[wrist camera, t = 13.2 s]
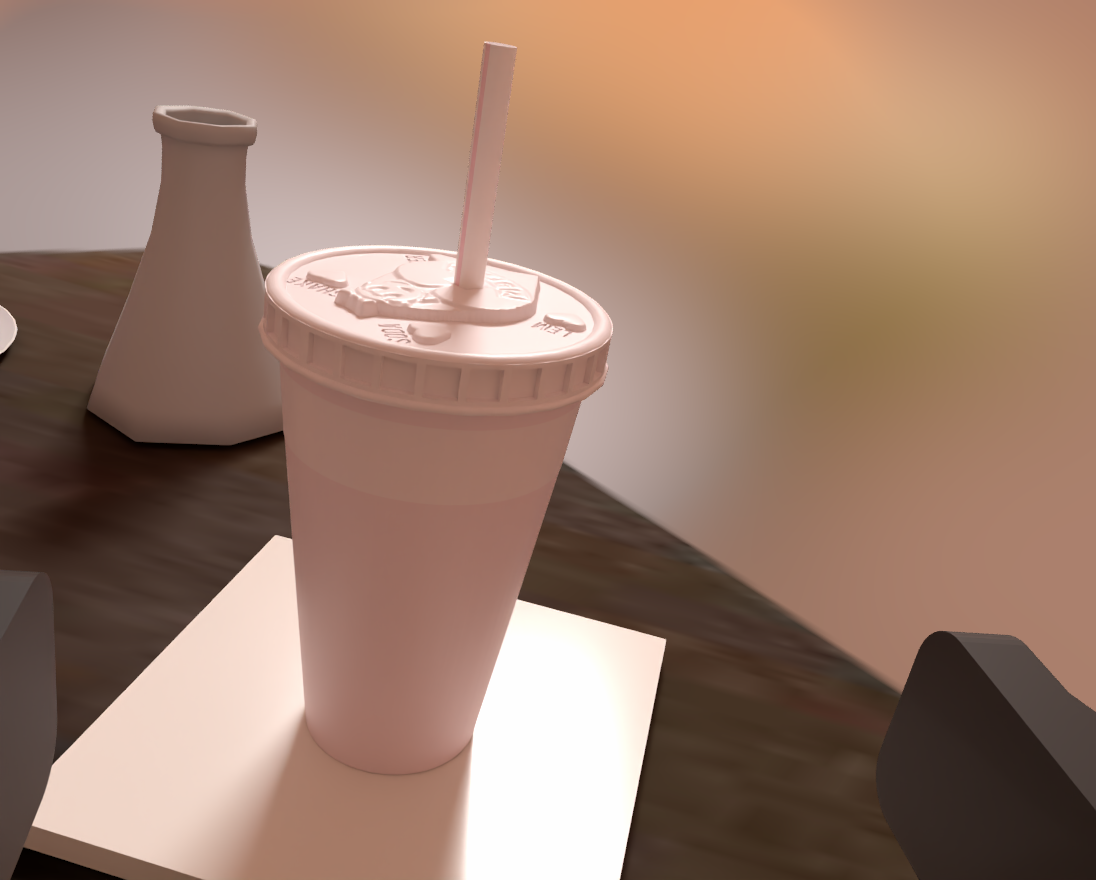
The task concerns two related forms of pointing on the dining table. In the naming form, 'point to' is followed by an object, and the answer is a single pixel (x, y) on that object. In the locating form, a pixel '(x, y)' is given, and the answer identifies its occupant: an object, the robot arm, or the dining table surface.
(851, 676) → the dining table surface
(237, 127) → the flask
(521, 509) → the smoothie
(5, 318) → the pudding
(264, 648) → the ceramic pad
